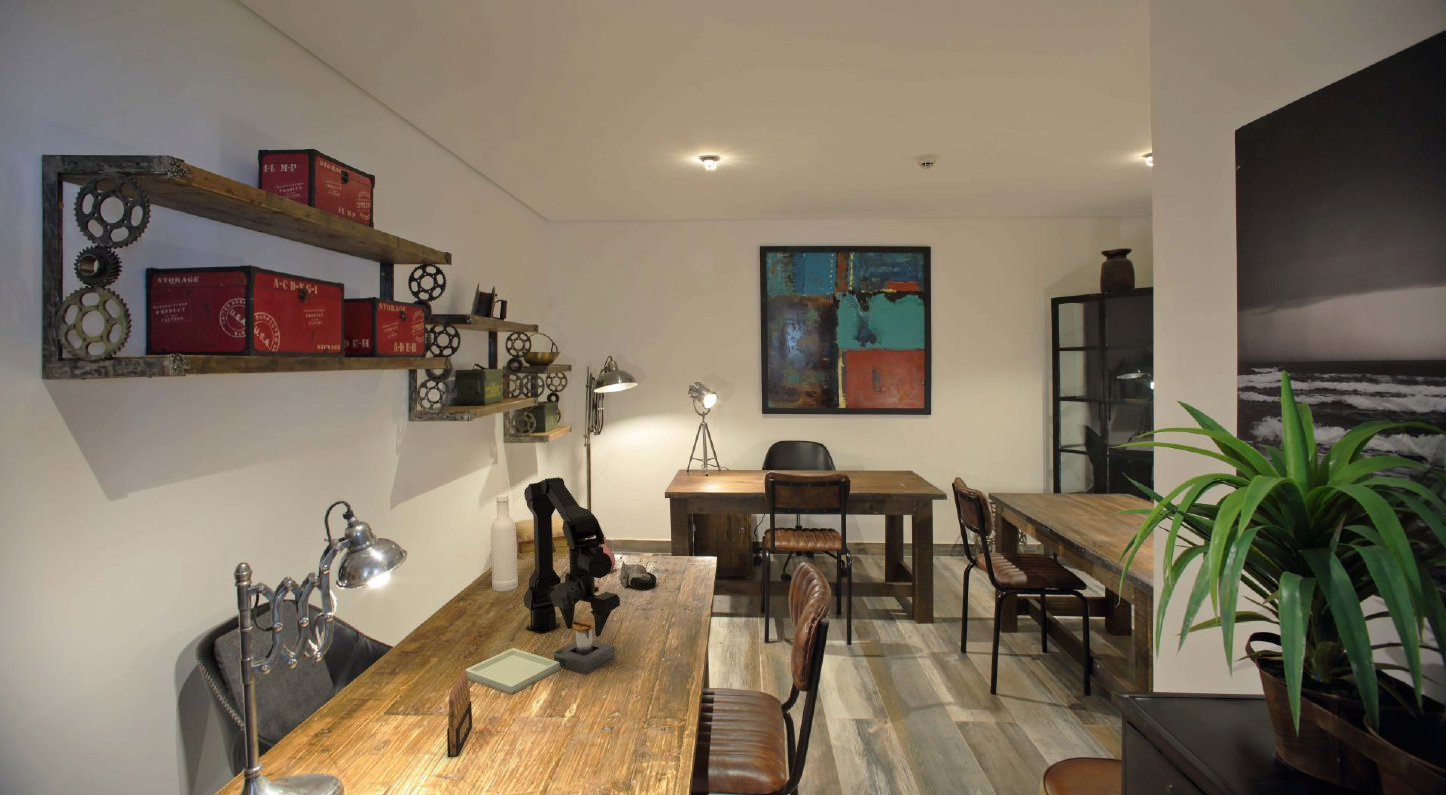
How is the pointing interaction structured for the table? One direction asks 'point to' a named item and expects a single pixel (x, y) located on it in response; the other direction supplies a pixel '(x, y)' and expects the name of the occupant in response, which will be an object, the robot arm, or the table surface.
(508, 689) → the tray
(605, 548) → the pink vase
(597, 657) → the block
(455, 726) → the ammunition clip
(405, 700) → the table surface
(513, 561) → the bottle
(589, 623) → the light grey cylindrical piece
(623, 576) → the caster wheel
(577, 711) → the table surface
